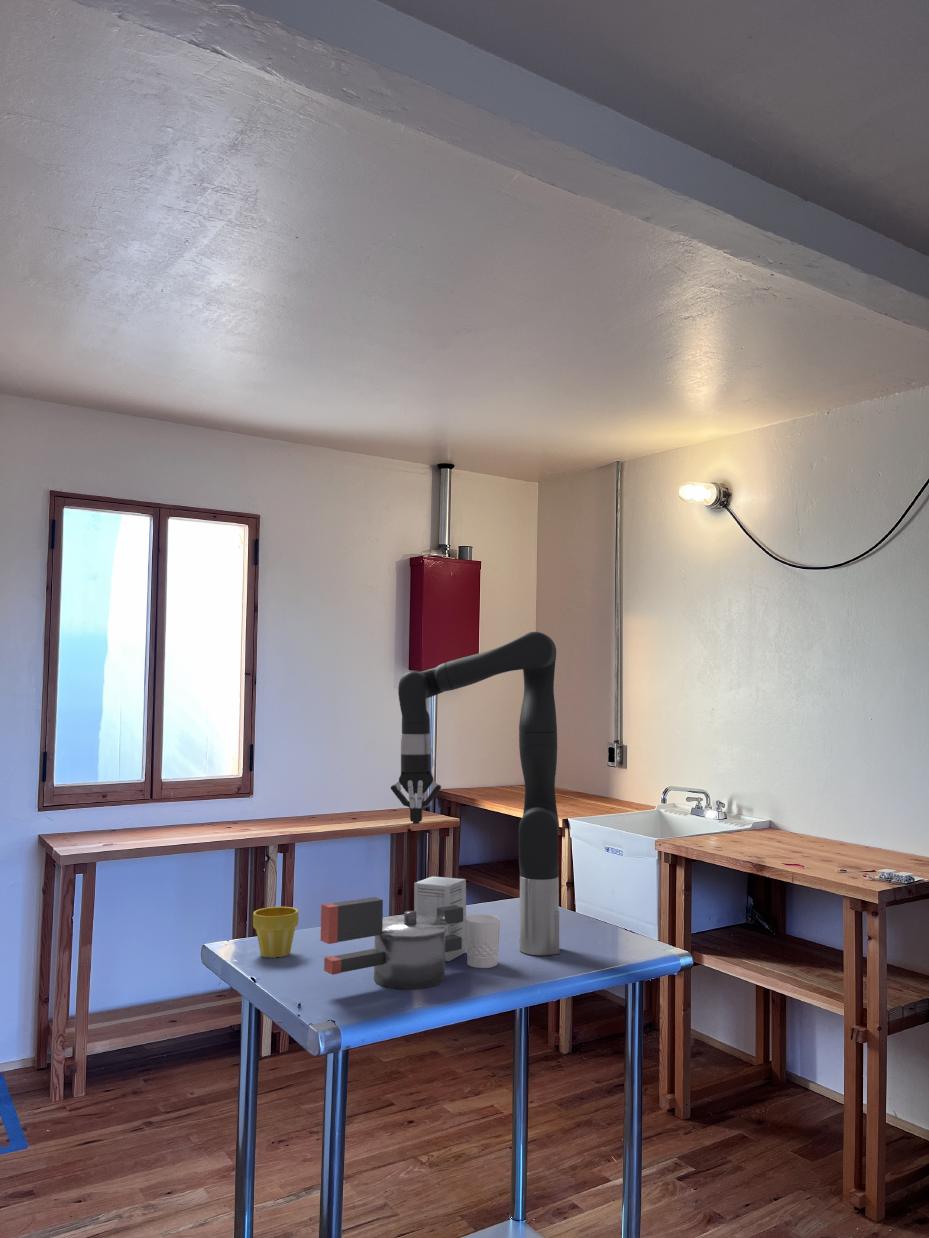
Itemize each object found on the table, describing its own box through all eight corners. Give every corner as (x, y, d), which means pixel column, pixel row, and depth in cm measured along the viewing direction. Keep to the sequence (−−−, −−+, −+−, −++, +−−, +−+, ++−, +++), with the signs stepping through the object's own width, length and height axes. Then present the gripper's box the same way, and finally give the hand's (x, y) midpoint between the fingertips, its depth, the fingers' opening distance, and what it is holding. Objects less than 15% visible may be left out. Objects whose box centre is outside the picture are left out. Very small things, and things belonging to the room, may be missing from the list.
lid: (438, 913, 208) (438, 880, 208) (481, 927, 195) (481, 892, 196) (306, 934, 188) (307, 898, 189) (343, 951, 175) (344, 913, 176)
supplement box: (467, 952, 214) (468, 878, 215) (449, 962, 205) (450, 885, 207) (431, 947, 218) (432, 875, 219) (412, 956, 210) (413, 881, 211)
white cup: (488, 971, 199) (488, 924, 200) (458, 965, 203) (458, 919, 204) (506, 962, 205) (506, 917, 206) (476, 957, 209) (476, 912, 210)
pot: (462, 967, 202) (462, 920, 202) (455, 1001, 179) (456, 948, 180) (342, 964, 203) (343, 918, 204) (320, 997, 180) (322, 945, 181)
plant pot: (242, 954, 210) (244, 910, 211) (280, 945, 218) (281, 904, 219) (269, 963, 203) (270, 918, 204) (306, 954, 211) (307, 910, 212)
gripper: (387, 753, 223) (387, 825, 221) (441, 752, 222) (441, 825, 220) (391, 751, 230) (391, 821, 229) (443, 751, 230) (444, 821, 228)
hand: (416, 823), depth 224 cm, fingers closed
